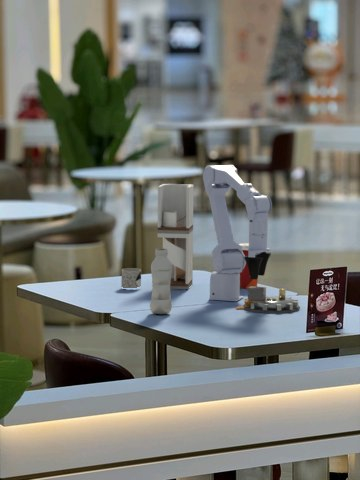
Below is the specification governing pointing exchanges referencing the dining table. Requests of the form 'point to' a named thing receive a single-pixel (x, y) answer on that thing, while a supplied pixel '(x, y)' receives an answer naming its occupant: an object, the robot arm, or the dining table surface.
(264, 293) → the link block
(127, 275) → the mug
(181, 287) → the display case
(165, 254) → the plastic bottle
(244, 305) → the sprocket mat
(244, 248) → the coffee cup
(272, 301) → the sprocket
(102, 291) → the dining table surface
